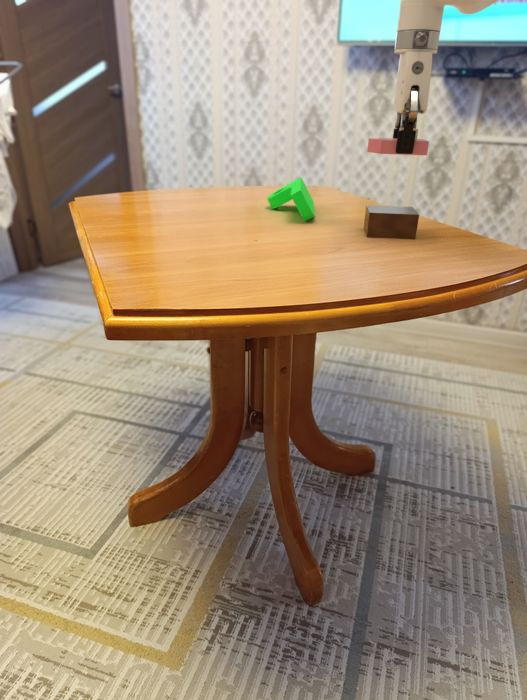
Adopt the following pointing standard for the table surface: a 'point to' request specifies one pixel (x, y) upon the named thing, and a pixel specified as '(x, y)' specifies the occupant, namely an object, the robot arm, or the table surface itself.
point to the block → (391, 222)
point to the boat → (390, 146)
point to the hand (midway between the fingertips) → (401, 150)
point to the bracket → (294, 198)
